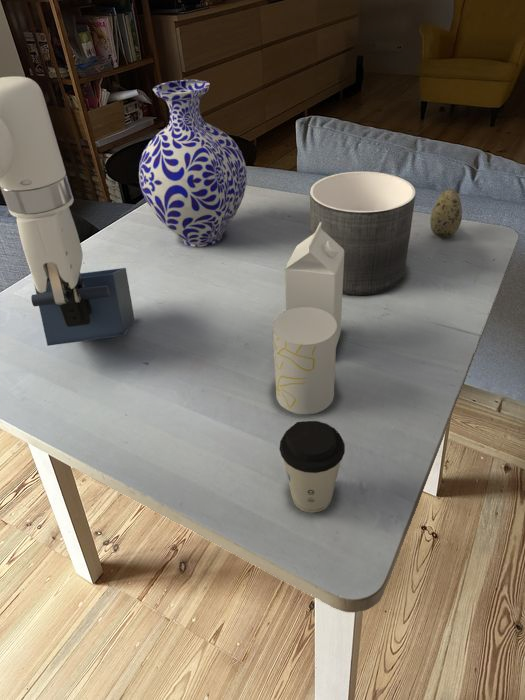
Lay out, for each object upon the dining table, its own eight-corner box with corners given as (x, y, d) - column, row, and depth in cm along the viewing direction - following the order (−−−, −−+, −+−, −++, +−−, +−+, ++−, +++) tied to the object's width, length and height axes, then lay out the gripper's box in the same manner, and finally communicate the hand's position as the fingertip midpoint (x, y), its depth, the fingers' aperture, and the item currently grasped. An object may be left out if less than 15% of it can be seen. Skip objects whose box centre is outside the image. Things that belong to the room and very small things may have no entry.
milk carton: (286, 354, 83) (283, 242, 71) (298, 327, 88) (296, 219, 76) (332, 360, 81) (336, 247, 69) (340, 333, 86) (346, 223, 74)
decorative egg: (431, 228, 113) (438, 182, 107) (460, 232, 111) (469, 185, 105) (424, 240, 109) (431, 193, 103) (455, 245, 107) (464, 197, 101)
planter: (315, 299, 94) (316, 215, 85) (305, 251, 108) (305, 174, 99) (415, 292, 94) (428, 208, 85) (393, 245, 108) (401, 168, 98)
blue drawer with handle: (120, 341, 74) (108, 276, 72) (38, 352, 73) (24, 287, 71) (134, 320, 92) (125, 267, 90) (69, 328, 91) (58, 276, 89)
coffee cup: (352, 487, 63) (357, 428, 57) (324, 532, 58) (325, 473, 52) (301, 463, 66) (300, 405, 60) (270, 504, 62) (265, 445, 55)
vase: (132, 238, 117) (99, 90, 98) (210, 207, 128) (193, 68, 109) (190, 272, 104) (165, 109, 85) (271, 235, 115) (264, 82, 96)
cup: (264, 392, 76) (259, 324, 69) (305, 367, 80) (305, 300, 73) (303, 423, 71) (303, 353, 64) (346, 394, 75) (350, 325, 68)
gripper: (18, 173, 70) (60, 293, 81) (-10, 226, 57) (43, 358, 69) (77, 167, 70) (110, 286, 82) (61, 217, 58) (102, 349, 70)
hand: (79, 318), depth 75 cm, fingers closed on blue drawer with handle
